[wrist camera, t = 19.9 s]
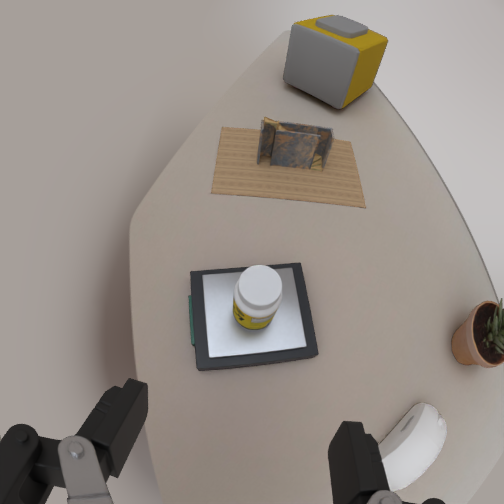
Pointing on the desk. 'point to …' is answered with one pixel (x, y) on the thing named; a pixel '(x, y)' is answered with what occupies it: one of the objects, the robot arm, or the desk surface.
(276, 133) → the ruin model on sheet
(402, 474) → the computer mouse
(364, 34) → the alarm clock
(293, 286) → the scale pan
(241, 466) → the desk surface
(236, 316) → the supplement bottle
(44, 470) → the robot arm
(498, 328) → the potted plant
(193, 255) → the desk surface
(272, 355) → the scale
